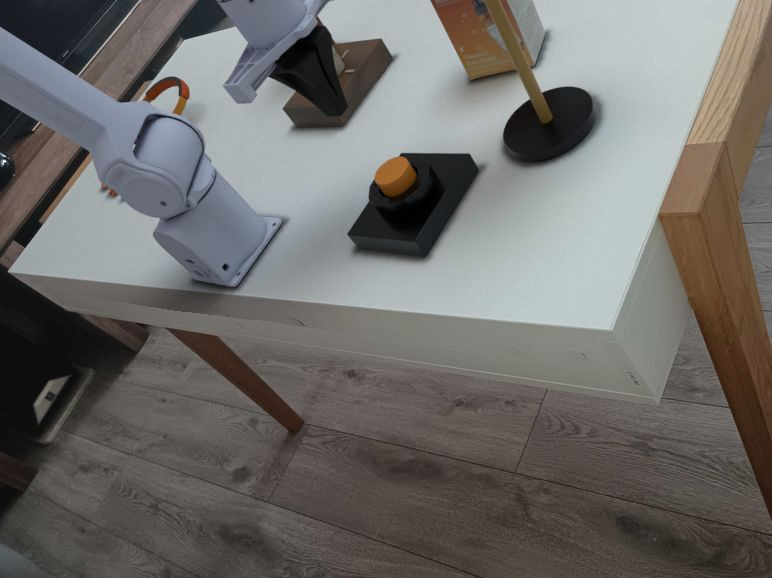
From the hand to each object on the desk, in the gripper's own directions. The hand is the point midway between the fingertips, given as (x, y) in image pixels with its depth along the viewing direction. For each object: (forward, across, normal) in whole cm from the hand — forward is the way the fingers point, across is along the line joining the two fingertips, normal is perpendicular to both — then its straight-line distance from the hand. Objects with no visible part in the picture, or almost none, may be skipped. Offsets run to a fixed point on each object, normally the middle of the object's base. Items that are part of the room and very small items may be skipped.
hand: (337, 111), depth 70 cm
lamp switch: (+7, -2, -5) cm, 9 cm away
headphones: (+11, +5, +52) cm, 53 cm away
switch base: (+10, -2, -5) cm, 12 cm away
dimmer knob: (+7, +15, +19) cm, 26 cm away
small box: (+10, +20, -4) cm, 23 cm away
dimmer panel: (+10, +15, +19) cm, 27 cm away
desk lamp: (+10, +9, -15) cm, 20 cm away
